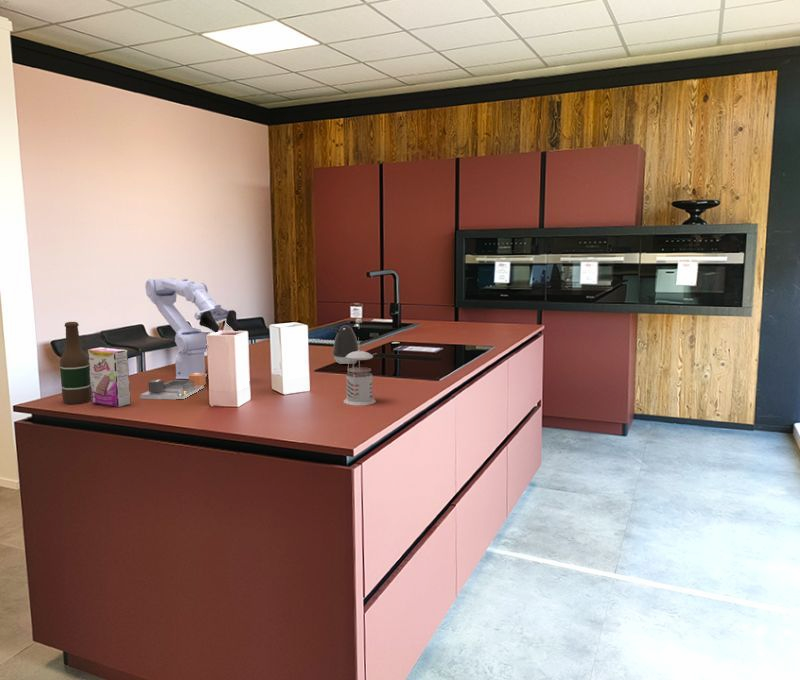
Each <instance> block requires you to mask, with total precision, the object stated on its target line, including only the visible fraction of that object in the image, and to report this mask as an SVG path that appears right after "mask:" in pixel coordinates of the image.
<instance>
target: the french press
mask: <svg viewBox="0 0 800 680" xmlns="http://www.w3.org/2000/svg"><path fill="white" fill-rule="evenodd" d="M355 323H357V324H358V328H360V323H361V324H362V323H363V320H362V319H361V318H356V319H355ZM360 346H361V345H360V342H358V348H359V350H358V351H355V352H351V353H349V354H348V355H347V356H346V358H347V359H350V360H351V363H352V360H354V362H355V360H356V362H355V363H354V362H353V363H352V364H351V365H352V367H350V365H349V363H348V365H347V370H346V371H347V374H346V392H347V393H346V398H345V399H344V400H343V403H344V404H345V403H346V405H348V404H349V405H350V406H367V405H373V404H375V403H376V402H377V401H376V399H375V398H374V395H373V394H374V393H373V392H374V391H373V389H374V388H373V384H374V383H373V380H374V379H373V373H371V371H372V369H371V368H370V367H361V363H360V362H361V361H366V360H371V359H373V357H374V355H372V354H371V353H369V352H367V351H363V350H360ZM350 360H349V362H350ZM357 363H358V366H355V364H357ZM349 367H350V368H349Z"/></svg>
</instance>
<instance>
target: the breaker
mask: <svg viewBox="0 0 800 680" xmlns="http://www.w3.org/2000/svg"><path fill="white" fill-rule="evenodd" d="M147 384H148V391H149V392H160V391H162V390H164V388H163V384H164V379H152V380H151V381H148V383H147Z"/></svg>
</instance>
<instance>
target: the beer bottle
mask: <svg viewBox="0 0 800 680" xmlns="http://www.w3.org/2000/svg"><path fill="white" fill-rule="evenodd" d="M79 326H80V325H79V323H78V322H77V321H67V322H65V323H64V327H65V349H64V351H63V353H62V354H61V356H60V359H59V368H60V369H59V370H60V382H61V385H60V386H61V394H62V395H61V396H62V402H63V403H64V404H67V405H80V404H85V403H88V402H90V401H92V396H91V383H90V370H89V357H88V355H87V353H86V352H85V351H84V350H83V348H82V346H81V340H80V333H79Z"/></svg>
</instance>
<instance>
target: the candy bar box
mask: <svg viewBox="0 0 800 680" xmlns="http://www.w3.org/2000/svg"><path fill="white" fill-rule="evenodd" d="M87 354H88V355H87V357H88V361H89V370H90V384H91V404H94V405H95V404H96V405H102V406H107V407H108V406H109V407H115V408H121V407H124V406H128V405H131V403H132V401H131V399H132V398H131V387H130V372H129V371H130V370H129V358H128V355H129V354H128V350H126V349H120V348H112V347H111V348H110V347H101V346H100V347H95V348H89V349H87Z"/></svg>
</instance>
